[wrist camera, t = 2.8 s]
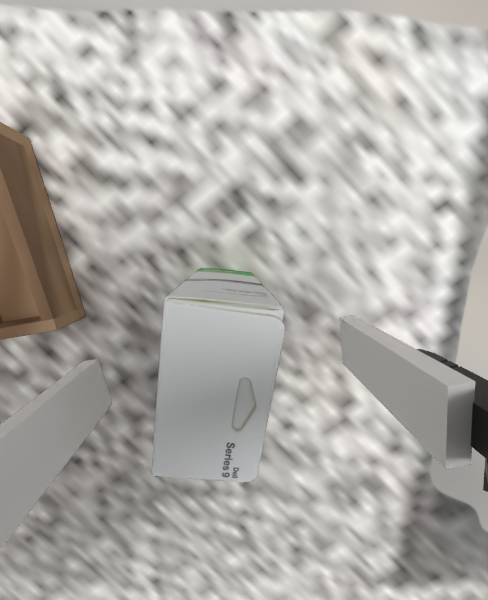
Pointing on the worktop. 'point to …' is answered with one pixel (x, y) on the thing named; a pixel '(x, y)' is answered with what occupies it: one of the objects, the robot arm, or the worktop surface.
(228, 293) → the ink box
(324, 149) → the worktop surface
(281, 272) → the worktop surface
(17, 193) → the tray
